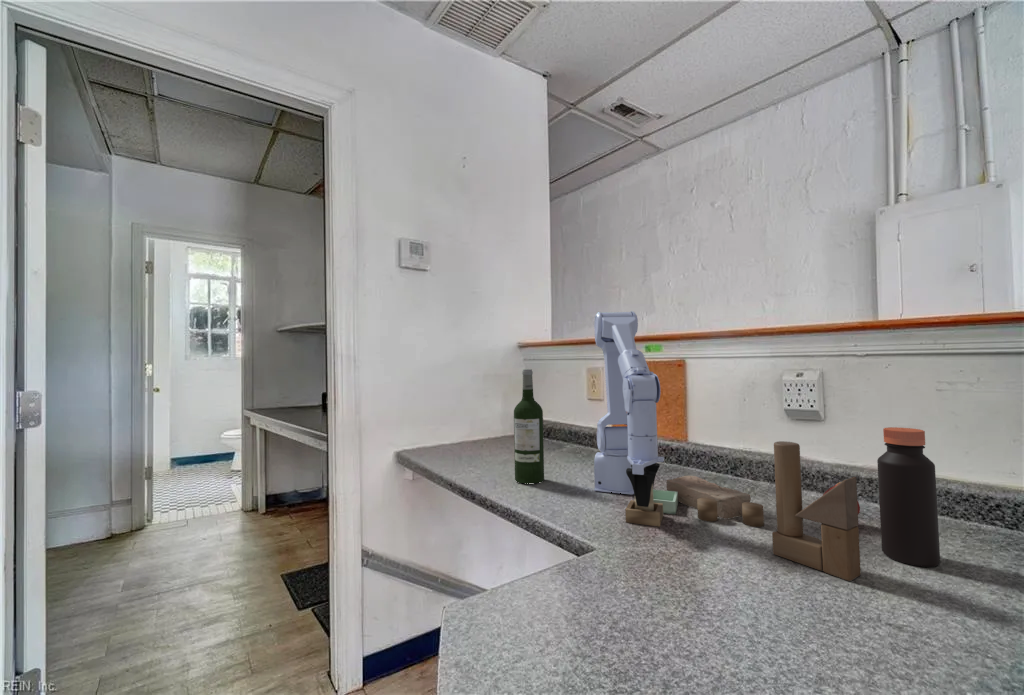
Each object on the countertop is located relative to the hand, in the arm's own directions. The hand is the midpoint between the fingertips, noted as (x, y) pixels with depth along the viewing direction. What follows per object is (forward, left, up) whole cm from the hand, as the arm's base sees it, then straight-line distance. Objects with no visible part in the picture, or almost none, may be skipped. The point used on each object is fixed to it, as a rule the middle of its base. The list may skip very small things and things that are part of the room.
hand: (644, 502), depth 88 cm
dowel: (0, 0, -3) cm, 3 cm away
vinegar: (+40, -3, -3) cm, 41 cm away
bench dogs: (+15, +5, -3) cm, 17 cm away
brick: (+11, +14, -4) cm, 18 cm away
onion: (+34, +10, -3) cm, 36 cm away
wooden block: (+26, -11, -3) cm, 29 cm away
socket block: (0, 0, -3) cm, 3 cm away
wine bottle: (-33, +19, -3) cm, 38 cm away
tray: (+2, +9, -3) cm, 10 cm away
